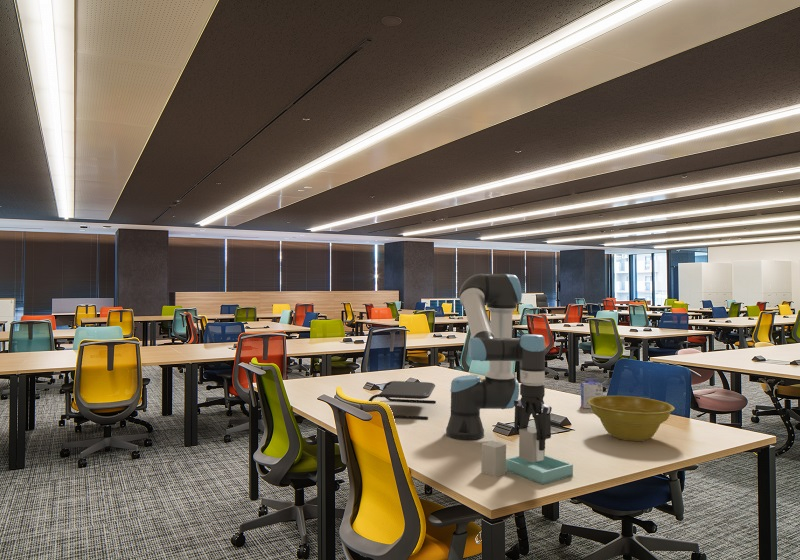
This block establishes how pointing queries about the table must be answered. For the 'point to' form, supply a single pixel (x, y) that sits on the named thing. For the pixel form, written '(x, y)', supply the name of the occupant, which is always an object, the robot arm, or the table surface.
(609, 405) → the planter bowl
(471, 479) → the table surface
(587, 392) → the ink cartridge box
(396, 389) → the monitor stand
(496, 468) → the stone
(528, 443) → the stone
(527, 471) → the bin
